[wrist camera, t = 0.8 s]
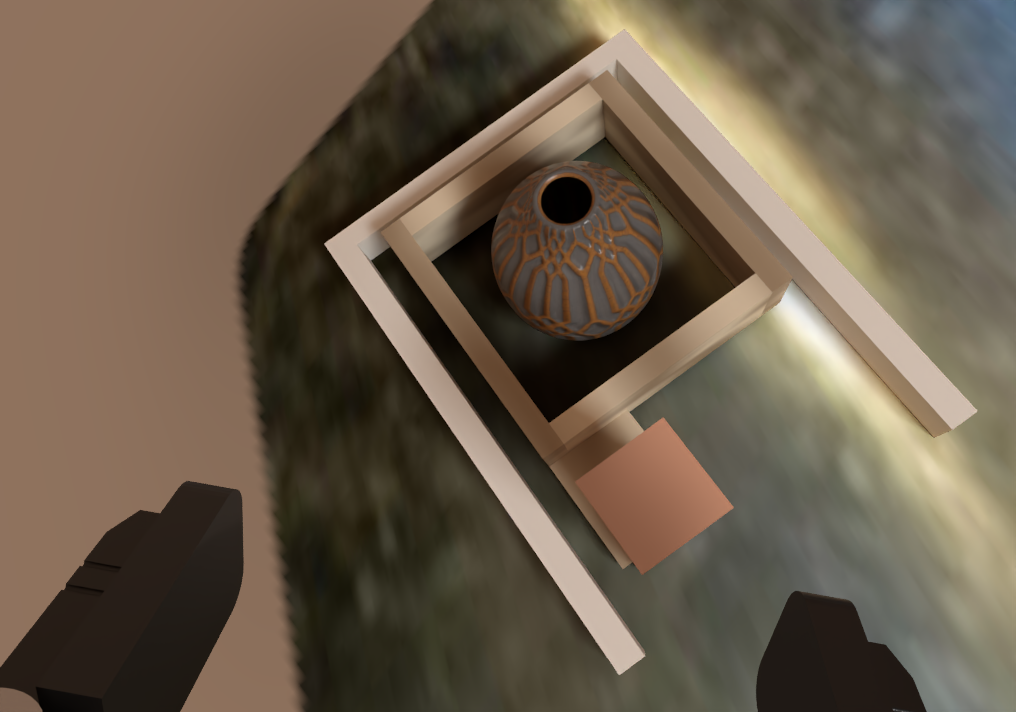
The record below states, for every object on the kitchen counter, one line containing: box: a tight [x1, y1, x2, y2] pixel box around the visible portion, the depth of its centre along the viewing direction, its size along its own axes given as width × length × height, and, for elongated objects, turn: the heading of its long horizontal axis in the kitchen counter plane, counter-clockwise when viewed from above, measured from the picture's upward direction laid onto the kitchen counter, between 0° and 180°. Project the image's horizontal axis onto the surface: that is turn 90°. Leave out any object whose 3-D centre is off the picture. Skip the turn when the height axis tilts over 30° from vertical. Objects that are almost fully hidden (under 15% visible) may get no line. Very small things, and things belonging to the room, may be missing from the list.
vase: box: [491, 161, 663, 341], centre depth 33 cm, size 7×7×9 cm
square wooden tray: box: [381, 70, 793, 575], centre depth 30 cm, size 12×18×12 cm
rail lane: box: [324, 29, 977, 675], centre depth 35 cm, size 17×22×2 cm
